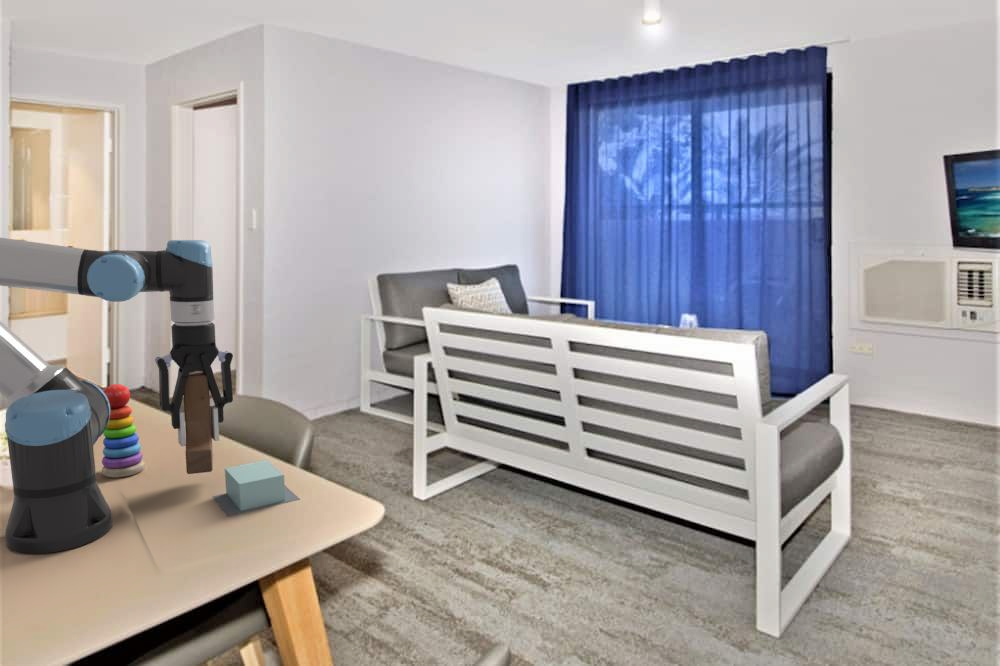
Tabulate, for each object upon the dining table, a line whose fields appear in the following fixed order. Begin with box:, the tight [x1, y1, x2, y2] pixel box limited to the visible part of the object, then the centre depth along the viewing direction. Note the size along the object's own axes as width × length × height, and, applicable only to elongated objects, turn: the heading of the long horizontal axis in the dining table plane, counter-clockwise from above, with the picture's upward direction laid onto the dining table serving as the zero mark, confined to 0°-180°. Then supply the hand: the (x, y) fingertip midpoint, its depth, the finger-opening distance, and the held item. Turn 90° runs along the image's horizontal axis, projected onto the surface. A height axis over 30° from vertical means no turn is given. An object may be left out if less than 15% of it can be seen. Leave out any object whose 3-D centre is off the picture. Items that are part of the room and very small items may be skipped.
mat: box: [212, 485, 301, 517], centre depth 133 cm, size 13×11×1 cm
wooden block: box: [183, 371, 214, 475], centre depth 136 cm, size 9×4×18 cm, turn 22°
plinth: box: [224, 459, 286, 511], centre depth 133 cm, size 8×10×5 cm
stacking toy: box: [101, 383, 146, 478], centre depth 146 cm, size 8×8×19 cm
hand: (198, 441), depth 136 cm, fingers closed on wooden block, 5 cm apart
